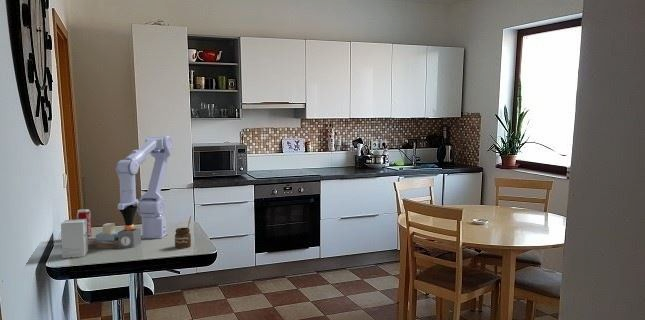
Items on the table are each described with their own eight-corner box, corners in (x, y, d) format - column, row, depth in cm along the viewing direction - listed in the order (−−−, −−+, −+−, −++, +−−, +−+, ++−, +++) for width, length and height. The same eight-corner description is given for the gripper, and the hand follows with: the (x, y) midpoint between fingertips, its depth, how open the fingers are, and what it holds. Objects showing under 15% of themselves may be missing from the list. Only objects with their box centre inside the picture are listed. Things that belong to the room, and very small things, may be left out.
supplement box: (84, 256, 165) (83, 221, 165) (61, 258, 163) (59, 223, 162) (88, 251, 172) (87, 218, 172) (66, 253, 170) (65, 219, 170)
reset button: (135, 229, 183) (135, 224, 183) (132, 231, 180) (131, 225, 179) (126, 229, 183) (126, 224, 183) (122, 231, 180) (122, 225, 179)
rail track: (126, 243, 186) (126, 231, 185) (117, 247, 178) (117, 236, 177) (84, 243, 186) (83, 232, 185) (73, 248, 178) (73, 236, 177)
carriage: (122, 236, 185) (121, 222, 185) (114, 240, 178) (113, 225, 178) (104, 236, 185) (104, 222, 185) (96, 240, 178) (95, 226, 178)
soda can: (85, 239, 193) (84, 211, 192) (74, 239, 194) (73, 210, 193) (94, 236, 198) (93, 209, 197) (83, 236, 199) (82, 208, 198)
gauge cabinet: (140, 243, 185) (140, 228, 185) (133, 247, 178) (132, 232, 177) (125, 243, 185) (125, 228, 185) (117, 247, 178) (117, 232, 177)
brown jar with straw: (176, 245, 181) (176, 214, 181) (193, 244, 182) (192, 214, 181) (173, 248, 175) (172, 217, 175) (190, 248, 176) (189, 217, 175)
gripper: (130, 192, 173) (131, 228, 174) (145, 188, 188) (146, 221, 188) (111, 192, 173) (112, 228, 174) (127, 188, 188) (129, 221, 188)
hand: (129, 225), depth 181 cm, fingers closed
